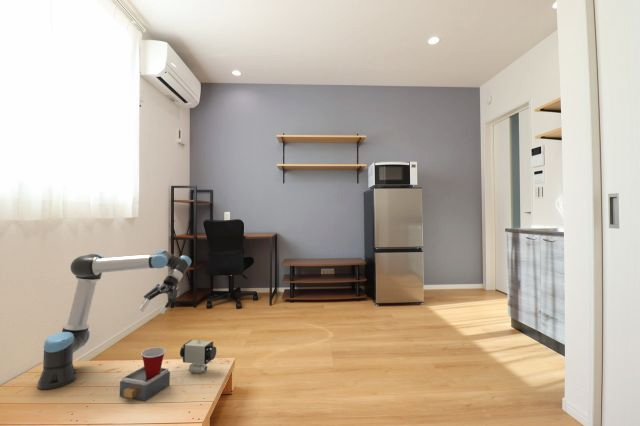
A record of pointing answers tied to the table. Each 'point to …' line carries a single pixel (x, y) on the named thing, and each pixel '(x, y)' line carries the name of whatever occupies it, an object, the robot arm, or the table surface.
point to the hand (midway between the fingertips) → (151, 311)
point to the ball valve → (198, 355)
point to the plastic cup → (153, 361)
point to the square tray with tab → (143, 384)
